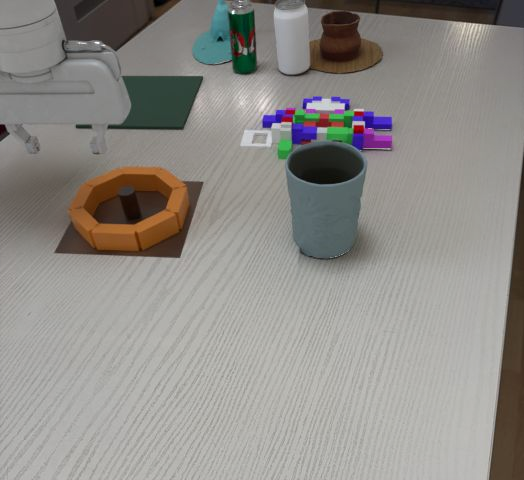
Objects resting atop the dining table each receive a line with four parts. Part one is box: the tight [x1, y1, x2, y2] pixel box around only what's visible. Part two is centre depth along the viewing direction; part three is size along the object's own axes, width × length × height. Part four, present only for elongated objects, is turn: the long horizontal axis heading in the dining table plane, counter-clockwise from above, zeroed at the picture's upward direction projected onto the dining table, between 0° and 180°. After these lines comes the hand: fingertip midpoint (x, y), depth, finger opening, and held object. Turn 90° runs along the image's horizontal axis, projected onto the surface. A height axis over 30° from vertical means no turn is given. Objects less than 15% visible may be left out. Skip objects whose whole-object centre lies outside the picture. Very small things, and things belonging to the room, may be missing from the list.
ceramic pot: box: [308, 10, 384, 75], centre depth 111 cm, size 18×18×7 cm
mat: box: [74, 75, 204, 130], centre depth 104 cm, size 20×20×1 cm
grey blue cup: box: [284, 141, 368, 258], centre depth 71 cm, size 10×10×12 cm
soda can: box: [228, 0, 258, 75], centre depth 106 cm, size 5×5×12 cm
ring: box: [67, 166, 190, 251], centre depth 79 cm, size 16×16×3 cm
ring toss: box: [54, 180, 205, 259], centre depth 79 cm, size 18×18×5 cm
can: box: [273, 0, 310, 76], centre depth 105 cm, size 6×6×12 cm
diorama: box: [191, 0, 232, 65], centre depth 116 cm, size 12×20×9 cm, turn 173°
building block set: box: [239, 95, 393, 160], centre depth 92 cm, size 25×20×4 cm
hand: (67, 151), depth 73 cm, fingers open, 8 cm apart
